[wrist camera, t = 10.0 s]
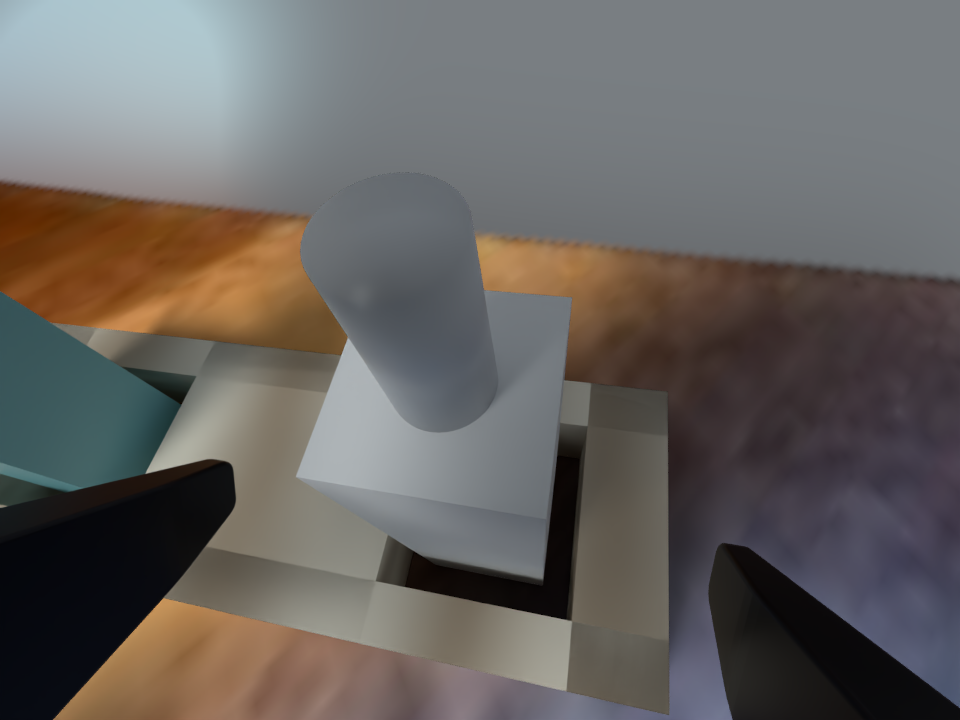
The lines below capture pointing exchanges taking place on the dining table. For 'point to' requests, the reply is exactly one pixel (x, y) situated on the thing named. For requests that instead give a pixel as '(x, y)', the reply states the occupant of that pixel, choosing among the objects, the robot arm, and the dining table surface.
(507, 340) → the grey plug
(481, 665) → the slot rack
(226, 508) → the robot arm
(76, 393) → the teal plug
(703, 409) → the dining table surface
